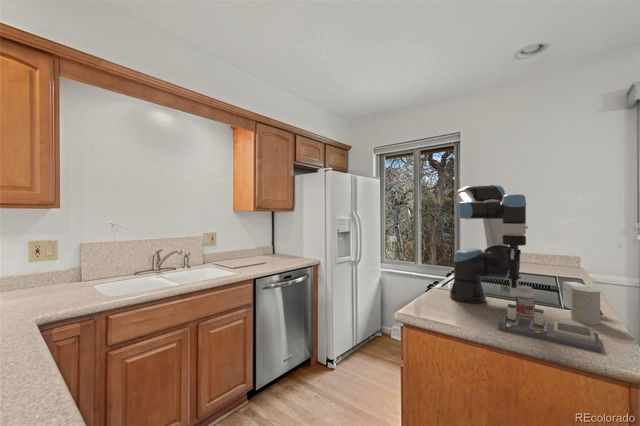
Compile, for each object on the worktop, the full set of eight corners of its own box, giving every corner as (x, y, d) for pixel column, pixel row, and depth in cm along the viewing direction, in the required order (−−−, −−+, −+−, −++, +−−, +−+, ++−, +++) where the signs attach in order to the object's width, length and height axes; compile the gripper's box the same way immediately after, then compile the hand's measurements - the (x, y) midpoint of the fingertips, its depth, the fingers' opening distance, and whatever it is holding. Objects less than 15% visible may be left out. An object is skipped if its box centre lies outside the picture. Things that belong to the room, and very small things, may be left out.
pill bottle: (521, 310, 119) (521, 284, 119) (538, 315, 114) (538, 287, 114) (512, 312, 116) (512, 285, 116) (529, 318, 111) (529, 289, 111)
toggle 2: (534, 324, 101) (534, 310, 101) (534, 321, 103) (534, 308, 103) (543, 325, 99) (543, 311, 99) (543, 323, 101) (543, 309, 101)
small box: (590, 312, 116) (590, 286, 116) (574, 311, 117) (574, 286, 117) (577, 306, 124) (577, 281, 124) (562, 305, 125) (562, 281, 125)
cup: (565, 316, 112) (565, 286, 112) (584, 316, 112) (584, 285, 112) (586, 325, 104) (586, 292, 104) (606, 324, 104) (606, 291, 104)
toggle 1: (507, 318, 106) (507, 305, 106) (508, 316, 108) (508, 303, 108) (515, 320, 104) (515, 307, 104) (516, 318, 106) (516, 305, 106)
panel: (498, 329, 100) (498, 321, 100) (503, 318, 110) (503, 310, 110) (601, 352, 84) (601, 342, 84) (597, 337, 94) (597, 328, 94)
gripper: (524, 236, 103) (524, 301, 103) (527, 234, 113) (527, 293, 113) (499, 235, 108) (500, 297, 108) (504, 233, 118) (505, 290, 118)
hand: (514, 295), depth 110 cm, fingers closed
